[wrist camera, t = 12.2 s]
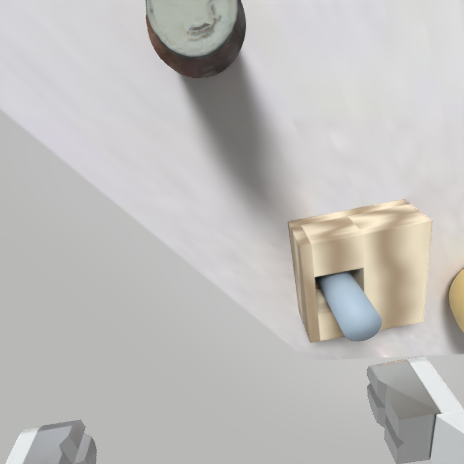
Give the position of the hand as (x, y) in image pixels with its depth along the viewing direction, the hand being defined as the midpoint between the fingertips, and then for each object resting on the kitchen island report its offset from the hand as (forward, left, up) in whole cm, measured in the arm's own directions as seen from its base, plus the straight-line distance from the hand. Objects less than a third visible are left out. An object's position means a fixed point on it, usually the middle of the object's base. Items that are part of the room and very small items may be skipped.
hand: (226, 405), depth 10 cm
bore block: (-14, +18, -31) cm, 39 cm away
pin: (-11, +18, -30) cm, 36 cm away
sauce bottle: (-1, -10, -31) cm, 33 cm away
